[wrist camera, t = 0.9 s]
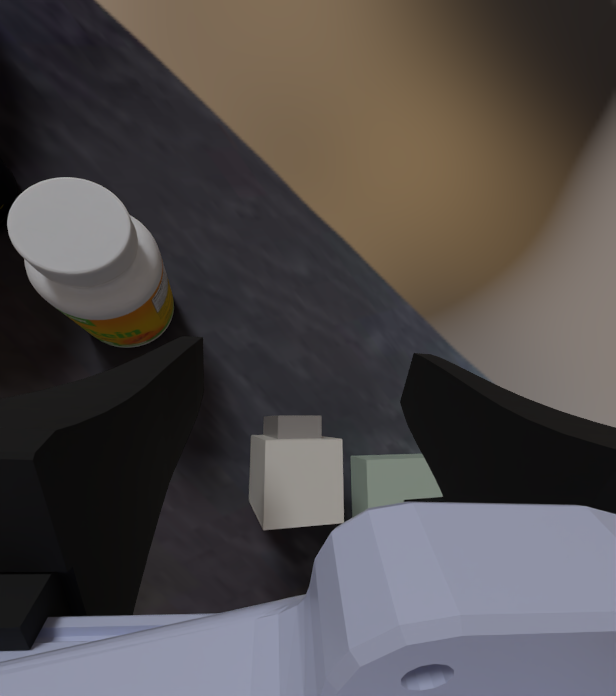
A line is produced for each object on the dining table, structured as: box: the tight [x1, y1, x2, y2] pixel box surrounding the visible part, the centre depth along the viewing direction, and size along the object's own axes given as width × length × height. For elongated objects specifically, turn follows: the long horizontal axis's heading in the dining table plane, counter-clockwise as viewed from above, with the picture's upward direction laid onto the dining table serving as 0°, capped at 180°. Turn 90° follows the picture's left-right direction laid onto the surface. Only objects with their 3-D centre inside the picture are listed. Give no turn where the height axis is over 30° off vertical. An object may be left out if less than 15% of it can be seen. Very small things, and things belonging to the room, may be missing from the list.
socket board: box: [351, 454, 443, 518], centre depth 22 cm, size 13×12×2 cm
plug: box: [249, 416, 344, 530], centre depth 19 cm, size 5×4×6 cm
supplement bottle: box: [7, 177, 174, 348], centre depth 17 cm, size 5×5×10 cm
